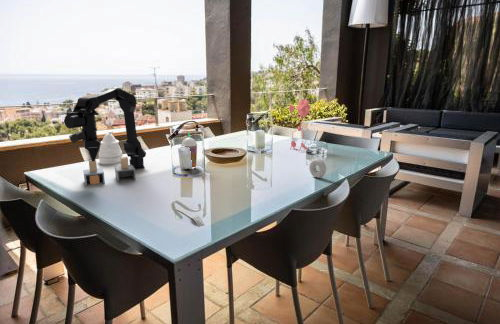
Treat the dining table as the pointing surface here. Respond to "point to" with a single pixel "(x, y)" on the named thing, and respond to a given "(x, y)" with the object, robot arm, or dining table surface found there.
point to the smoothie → (191, 148)
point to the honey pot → (109, 150)
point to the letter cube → (94, 179)
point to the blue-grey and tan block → (93, 172)
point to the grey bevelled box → (124, 169)
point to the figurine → (302, 110)
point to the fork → (191, 216)
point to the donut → (321, 168)
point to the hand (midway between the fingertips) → (92, 159)
